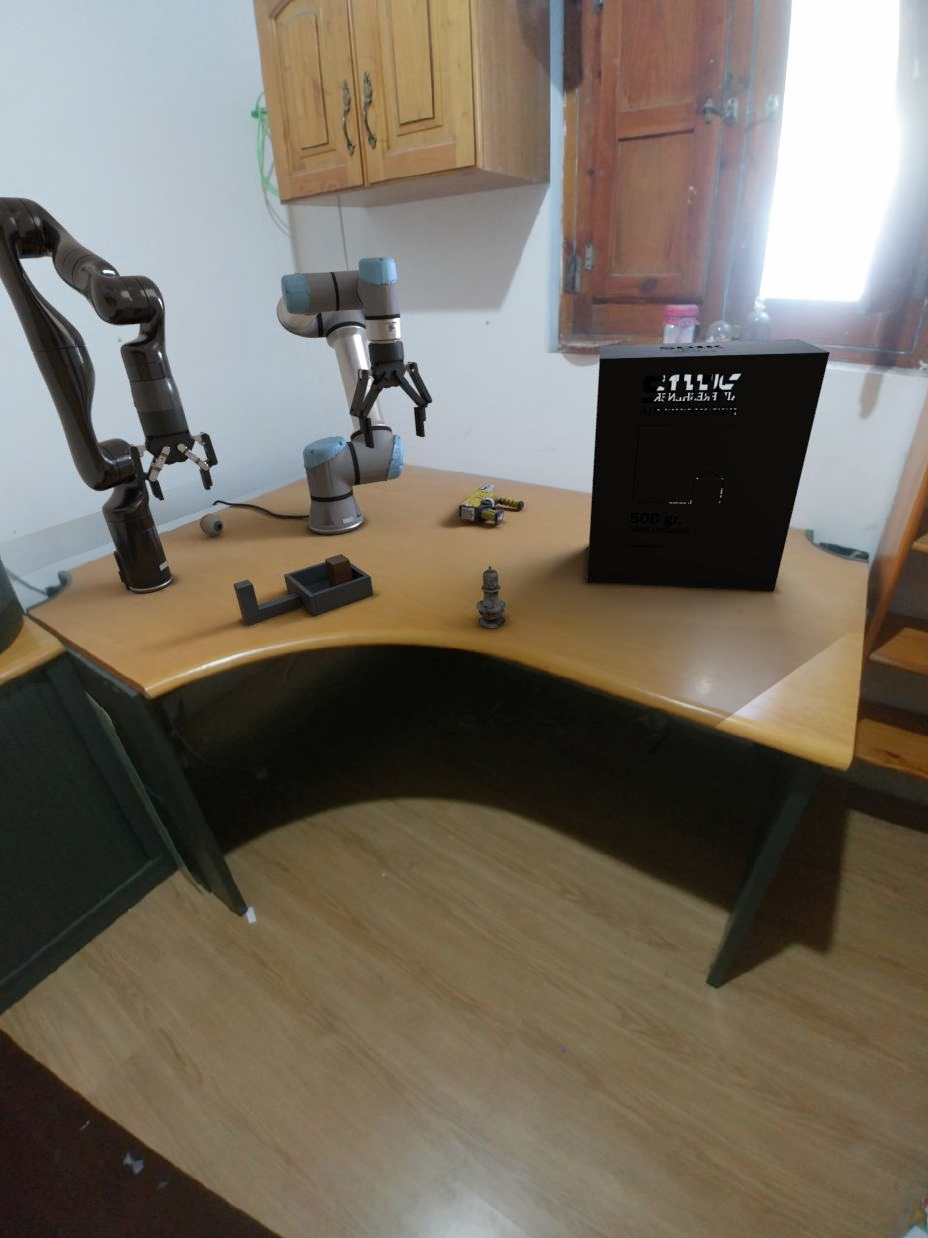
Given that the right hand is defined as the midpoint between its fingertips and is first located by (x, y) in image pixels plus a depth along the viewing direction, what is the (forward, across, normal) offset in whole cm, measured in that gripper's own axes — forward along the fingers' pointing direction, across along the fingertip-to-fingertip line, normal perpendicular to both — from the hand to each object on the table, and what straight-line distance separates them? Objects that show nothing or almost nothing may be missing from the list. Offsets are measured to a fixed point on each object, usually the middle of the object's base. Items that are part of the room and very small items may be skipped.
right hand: (395, 441), depth 139 cm
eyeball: (+27, -35, +45) cm, 63 cm away
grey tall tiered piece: (+27, -7, -43) cm, 51 cm away
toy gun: (+27, +33, +5) cm, 43 cm away
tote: (+27, -32, -10) cm, 43 cm away
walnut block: (+26, -23, -10) cm, 36 cm away
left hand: (+1, -48, -2) cm, 48 cm away
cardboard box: (+27, +39, -51) cm, 70 cm away
